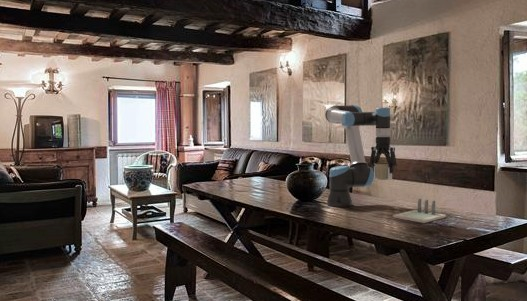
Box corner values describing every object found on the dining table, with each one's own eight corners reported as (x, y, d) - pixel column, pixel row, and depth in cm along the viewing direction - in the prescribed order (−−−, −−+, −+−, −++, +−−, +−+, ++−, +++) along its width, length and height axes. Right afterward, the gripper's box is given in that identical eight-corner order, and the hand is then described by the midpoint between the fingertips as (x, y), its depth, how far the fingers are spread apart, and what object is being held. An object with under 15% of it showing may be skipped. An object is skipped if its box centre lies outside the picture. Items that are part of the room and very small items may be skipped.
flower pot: (379, 180, 227) (379, 164, 226) (370, 178, 236) (370, 162, 235) (395, 179, 229) (395, 163, 229) (386, 177, 238) (386, 162, 238)
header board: (392, 217, 224) (392, 201, 224) (414, 212, 236) (414, 197, 236) (424, 222, 210) (424, 206, 209) (446, 217, 222) (446, 201, 222)
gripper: (362, 136, 237) (362, 177, 239) (395, 136, 221) (395, 181, 222) (371, 136, 242) (371, 176, 243) (404, 136, 225) (404, 179, 227)
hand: (382, 178), depth 233 cm, fingers closed on flower pot, 8 cm apart
